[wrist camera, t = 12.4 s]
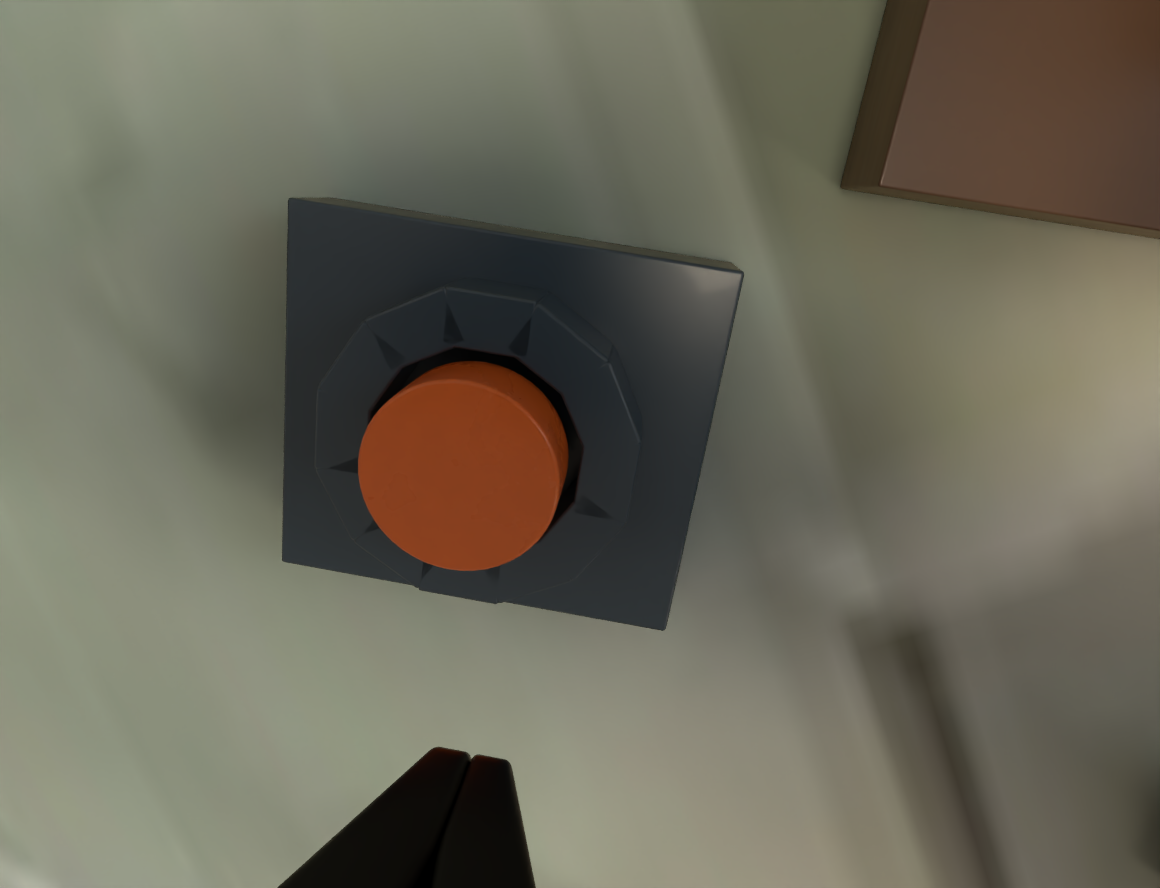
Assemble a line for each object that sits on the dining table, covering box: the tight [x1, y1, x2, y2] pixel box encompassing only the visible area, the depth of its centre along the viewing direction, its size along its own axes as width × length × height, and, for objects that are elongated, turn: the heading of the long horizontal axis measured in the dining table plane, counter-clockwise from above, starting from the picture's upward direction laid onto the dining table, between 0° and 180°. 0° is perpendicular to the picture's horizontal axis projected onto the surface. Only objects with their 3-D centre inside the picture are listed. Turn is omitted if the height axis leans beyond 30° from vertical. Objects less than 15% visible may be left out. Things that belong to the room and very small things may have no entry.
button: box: [358, 361, 569, 571], centre depth 15 cm, size 4×4×2 cm
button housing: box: [282, 198, 744, 631], centre depth 17 cm, size 10×9×4 cm
